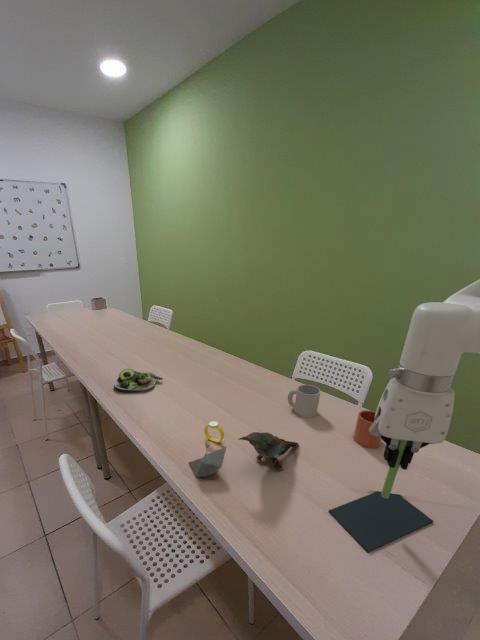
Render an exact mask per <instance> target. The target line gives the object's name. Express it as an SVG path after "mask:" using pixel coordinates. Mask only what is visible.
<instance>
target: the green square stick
mask: <svg viewBox="0 0 480 640" xmlns="http://www.w3.org/2000/svg"><path fill="white" fill-rule="evenodd" d="M406 444H407V440H400V439H399V443H398V448H397V449H398V450H399V455H398V458H397V461H396V464H395V467H394V468H391V467H389V466H388V467H389V468H388V470H387V473H386V477H385V480H384V484H383V486H382V490H381V492H382V493H381V496H382V497H383V498H386V499H388V498H389V496H390V493H392V490H393V486H394V484H395V480H396V477H397V474H398V471H399V468H400V462H401V459H402V456H403V453H404V450H405V447H406Z"/></svg>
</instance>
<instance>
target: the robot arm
mask: <svg viewBox="0 0 480 640" xmlns="http://www.w3.org/2000/svg"><path fill="white" fill-rule="evenodd" d="M464 353H470V354H477V355H478V354H480V279H477V280H475V281H474V282H472V283H471V284H469V285H466V286H465V287H463V288H462V289H460V290H458V291H456V292H455V293H453V294H452V295H450V296H449V297H447V298H445V300H444V301H443V302H441V301H430V302H423V303H421V304H418V305H417V306H416V308H415V309H414V311H413V312H412V316H411V320H410V323H409V327H408V331H407V334H406V338H405V341H404V344H403V349H402V351H401V355H400V359H399V363H397V364H396V367H394V368H388V370H387V376H388V377H391V378H390V380H389V382H388V383H387V385H386V387H385V389H384V391H383V393H382V395H381V397H380V400H379V402H378V405H377V408H376V410H375V412H376V414H375V418H374V422H373V423H372V425H371V426H370V427H369V432H370V434H371V435H374V436H376V437H378V438H382V442H384V443H385V444H386V445H385V448H384V452H383V459H384V460H385V461H386V462H387V465H388V467H391V468H394V467H395V464H396V461H397V458H398V455H399V450H398V449H397V448H398V443H399V439H400V440H407V444H406V447H405V450H404V453H403V456H402V459H401V462H400V465H399V467H400V468H401V469H402V470H405V471H406V470H408V467H409V464H411V463H412V460H413V459H414V455H415V454H417V453H419V451H420V449H423V448H424V447H426V446H428V445H435V444H436V445H437V444H442V443H443V442H444V441H445V440H446V437H447V434H448V432H449V429H450V425H451V422H452V418H453V413H454V406H455V395H456V393H455V392H456V391H455V390H454V389H453V388H452V387H451V385H452V382H453V380H454V377H455V374H456V373H457V368H458V366H459V363H460V361H461V358H462V355H463V354H464Z"/></svg>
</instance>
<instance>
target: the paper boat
mask: <svg viewBox="0 0 480 640" xmlns="http://www.w3.org/2000/svg"><path fill="white" fill-rule="evenodd" d="M209 447H211V444H205V451H206V452H205V454H204V456H203V457H201V458H198V459H195V460H192V461H190V462H188V465H189V466H190V469H191V471H192V472H193V475H194V477H195V478H204V477H209V476H211V475H214V474H215V473H216V472H217V471H218V470H220V469H221V468H222V467H223V463H224V458H225V455H226V451H227V447H228V445H226V446H223V447H221V448H219V449H217V450H215V451H213V452H211V453H208V450H207V449H208V448H209Z"/></svg>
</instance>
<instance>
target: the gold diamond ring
mask: <svg viewBox="0 0 480 640" xmlns="http://www.w3.org/2000/svg"><path fill="white" fill-rule="evenodd" d="M219 424H220V423H219V422H218V421H215V420H214V421H213V420H212V421H209V423H208V424H206V425H205V427H204V429H203V432H204V435H205V438H206V439H208V440H209V441H210V442H214V443H217V444H219V443H221V442H222V441H223V439H224V437H225V432H224V430H223V428H222V426H221V425H219ZM208 428H211V429H216V430H218V432H219V433H220V438H215V437H213V436H211V434H210V433H209V430H208Z"/></svg>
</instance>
